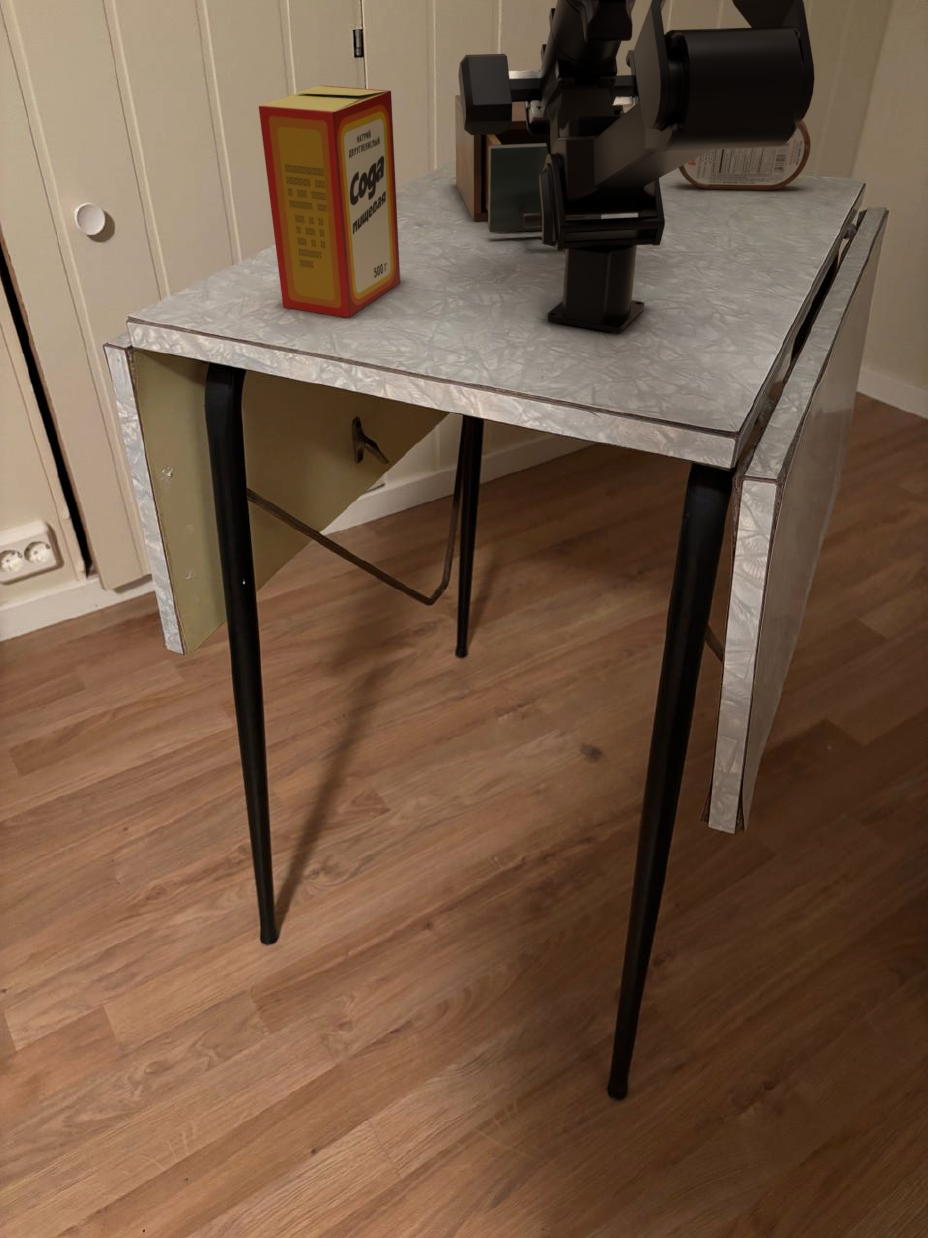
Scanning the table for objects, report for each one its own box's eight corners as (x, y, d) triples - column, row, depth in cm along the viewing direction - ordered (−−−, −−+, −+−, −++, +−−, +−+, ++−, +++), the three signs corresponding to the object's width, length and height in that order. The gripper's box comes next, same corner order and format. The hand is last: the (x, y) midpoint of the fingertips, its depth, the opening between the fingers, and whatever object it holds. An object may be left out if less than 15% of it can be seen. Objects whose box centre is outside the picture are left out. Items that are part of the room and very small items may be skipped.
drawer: (610, 238, 96) (617, 152, 92) (496, 244, 95) (497, 157, 90) (571, 191, 110) (575, 114, 105) (471, 196, 109) (470, 118, 104)
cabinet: (589, 215, 106) (595, 117, 100) (473, 221, 104) (473, 122, 99) (560, 181, 117) (565, 91, 111) (456, 185, 116) (455, 95, 110)
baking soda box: (349, 317, 83) (331, 106, 73) (283, 306, 85) (257, 100, 75) (400, 282, 89) (390, 85, 80) (338, 273, 92) (321, 80, 82)
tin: (800, 185, 115) (815, 105, 110) (804, 192, 112) (820, 111, 107) (669, 183, 116) (678, 103, 111) (671, 190, 113) (681, 109, 108)
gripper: (480, 129, 76) (462, 233, 91) (713, 120, 78) (657, 224, 93) (466, -3, 77) (451, 122, 92) (696, -8, 79) (643, 115, 94)
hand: (551, 148), depth 93 cm, fingers closed
